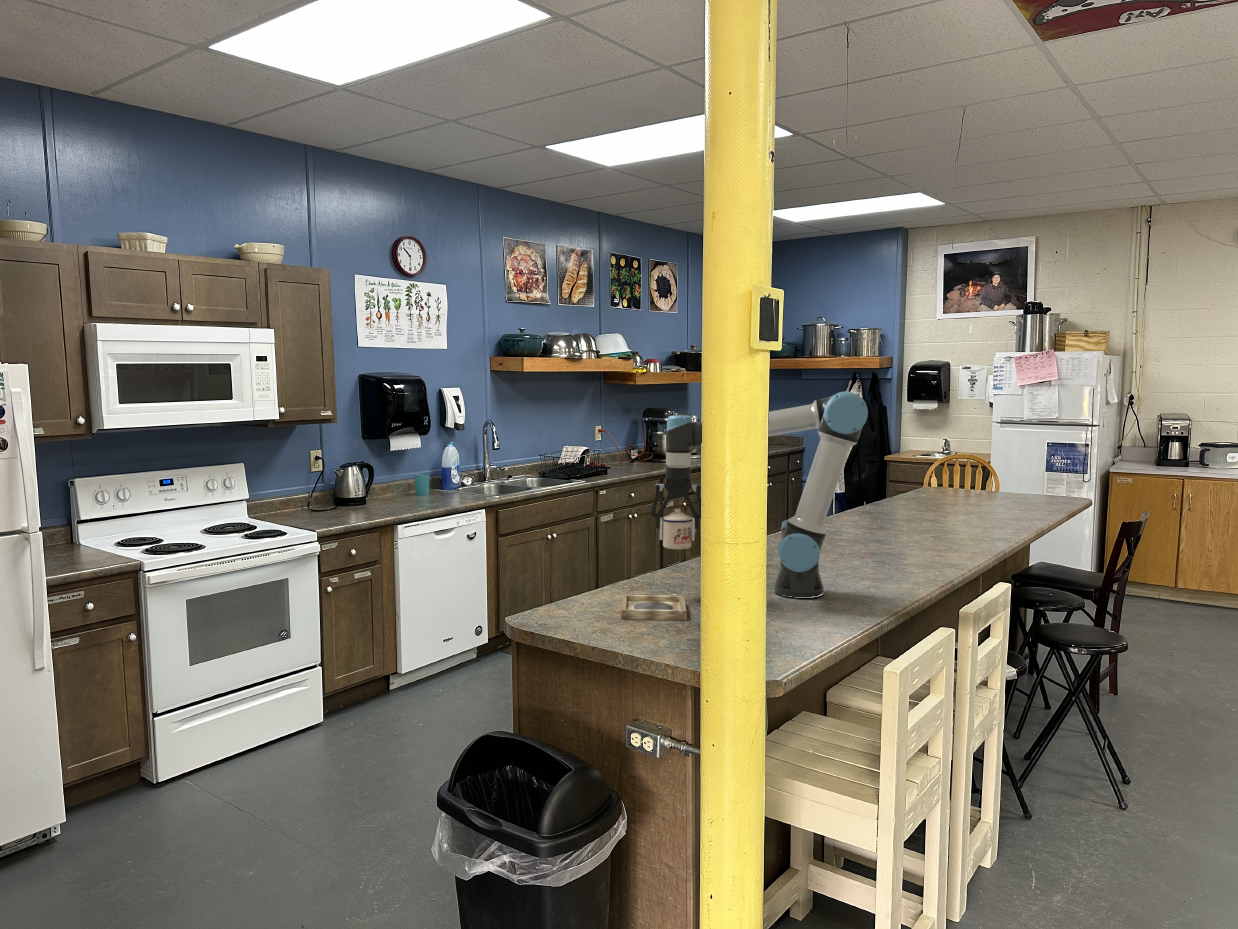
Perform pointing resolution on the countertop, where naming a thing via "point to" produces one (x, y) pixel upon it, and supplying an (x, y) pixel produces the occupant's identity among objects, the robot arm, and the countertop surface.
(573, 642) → the countertop surface
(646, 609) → the birch tray
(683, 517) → the teacup with lid
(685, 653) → the countertop surface
